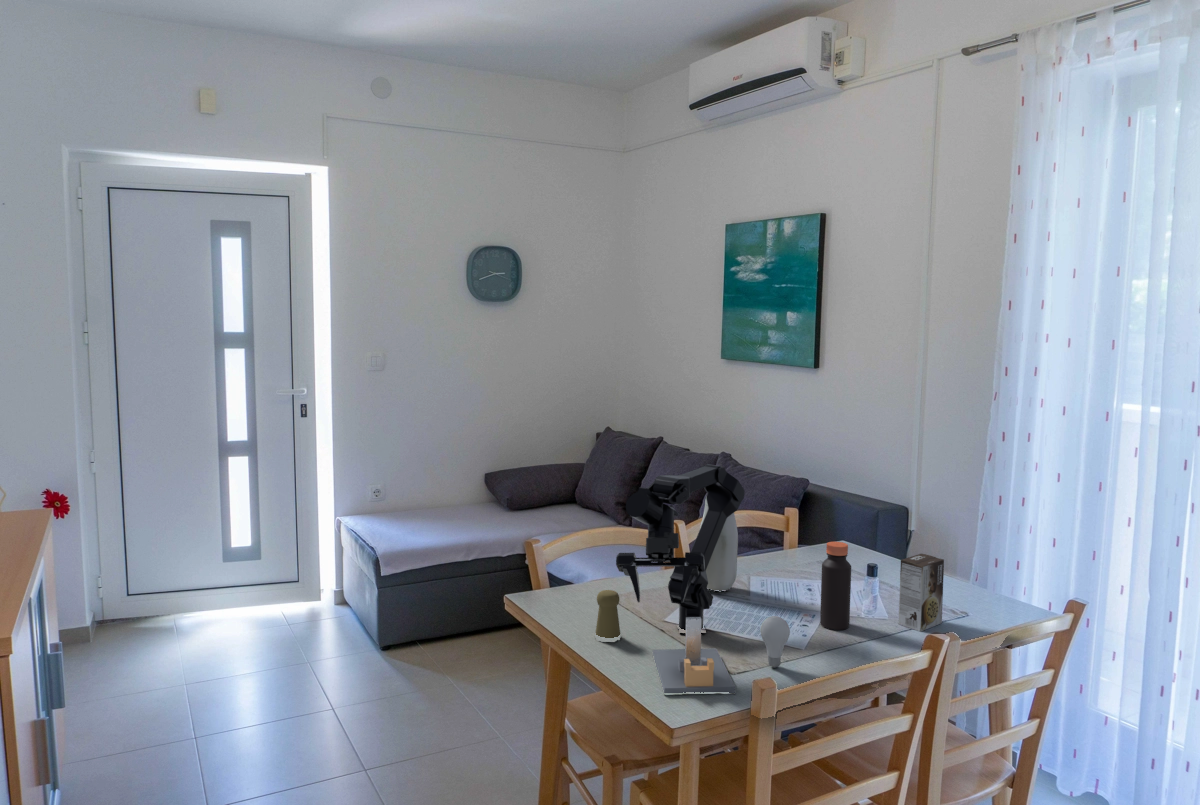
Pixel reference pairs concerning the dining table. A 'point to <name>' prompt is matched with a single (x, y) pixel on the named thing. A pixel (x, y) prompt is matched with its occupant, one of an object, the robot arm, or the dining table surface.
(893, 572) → the dining table surface
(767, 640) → the lightbulb
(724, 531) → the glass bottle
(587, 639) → the dining table surface
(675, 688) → the base plate
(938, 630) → the dining table surface
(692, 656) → the bar
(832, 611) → the black water bottle
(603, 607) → the cork
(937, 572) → the coffee box
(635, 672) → the dining table surface
